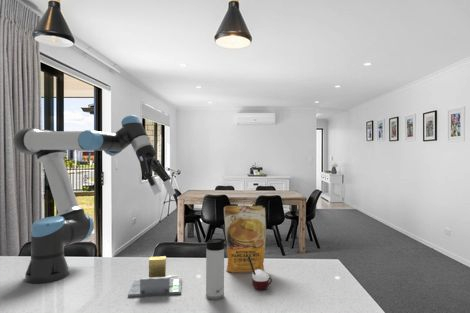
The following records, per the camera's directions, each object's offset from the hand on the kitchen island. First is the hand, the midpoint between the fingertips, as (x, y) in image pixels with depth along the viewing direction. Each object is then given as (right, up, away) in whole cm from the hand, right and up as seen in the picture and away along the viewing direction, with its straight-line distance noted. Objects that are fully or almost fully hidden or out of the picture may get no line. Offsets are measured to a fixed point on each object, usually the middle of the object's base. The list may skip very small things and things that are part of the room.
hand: (165, 193), depth 126 cm
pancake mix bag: (+32, -35, +12) cm, 49 cm away
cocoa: (+37, -35, -7) cm, 51 cm away
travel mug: (+21, -34, -15) cm, 43 cm away
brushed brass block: (0, -33, -4) cm, 33 cm away
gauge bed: (-2, -34, -8) cm, 35 cm away
